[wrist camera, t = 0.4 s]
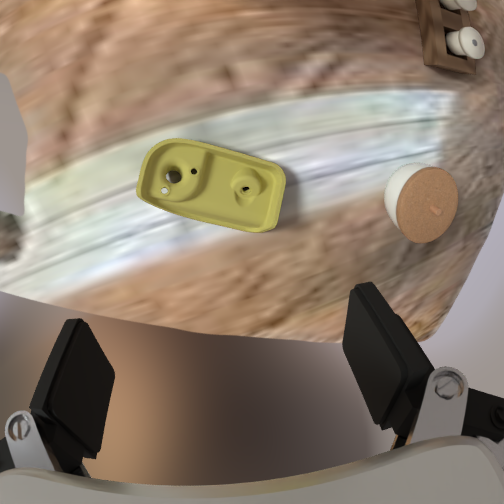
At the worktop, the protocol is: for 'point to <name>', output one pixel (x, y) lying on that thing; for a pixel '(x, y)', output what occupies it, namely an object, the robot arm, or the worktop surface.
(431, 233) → the lidded bowl
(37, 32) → the worktop surface
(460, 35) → the knob
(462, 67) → the mount
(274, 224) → the plastic component
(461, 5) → the knob
